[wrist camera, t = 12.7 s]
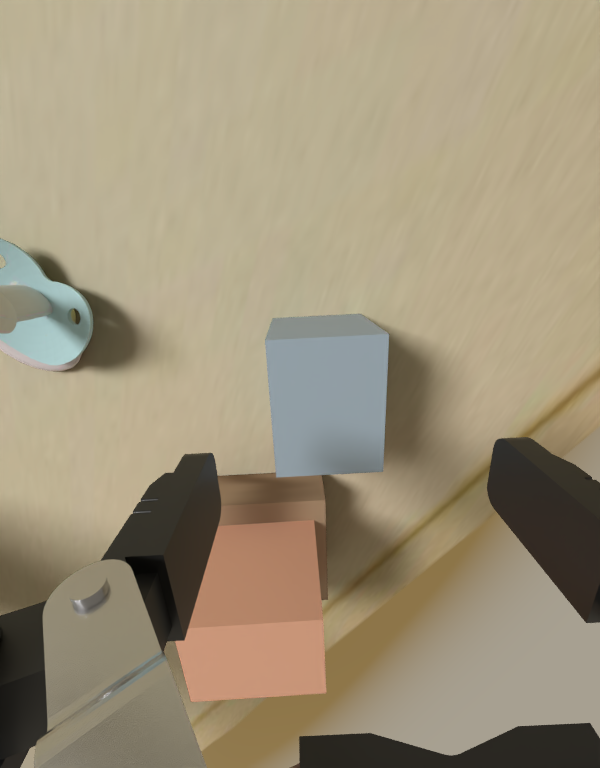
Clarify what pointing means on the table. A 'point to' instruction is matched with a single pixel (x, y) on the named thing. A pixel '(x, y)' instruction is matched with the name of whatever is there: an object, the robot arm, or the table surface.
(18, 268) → the pacifier
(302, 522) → the brick terracotta
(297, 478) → the base block
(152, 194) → the table surface
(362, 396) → the brick slate
